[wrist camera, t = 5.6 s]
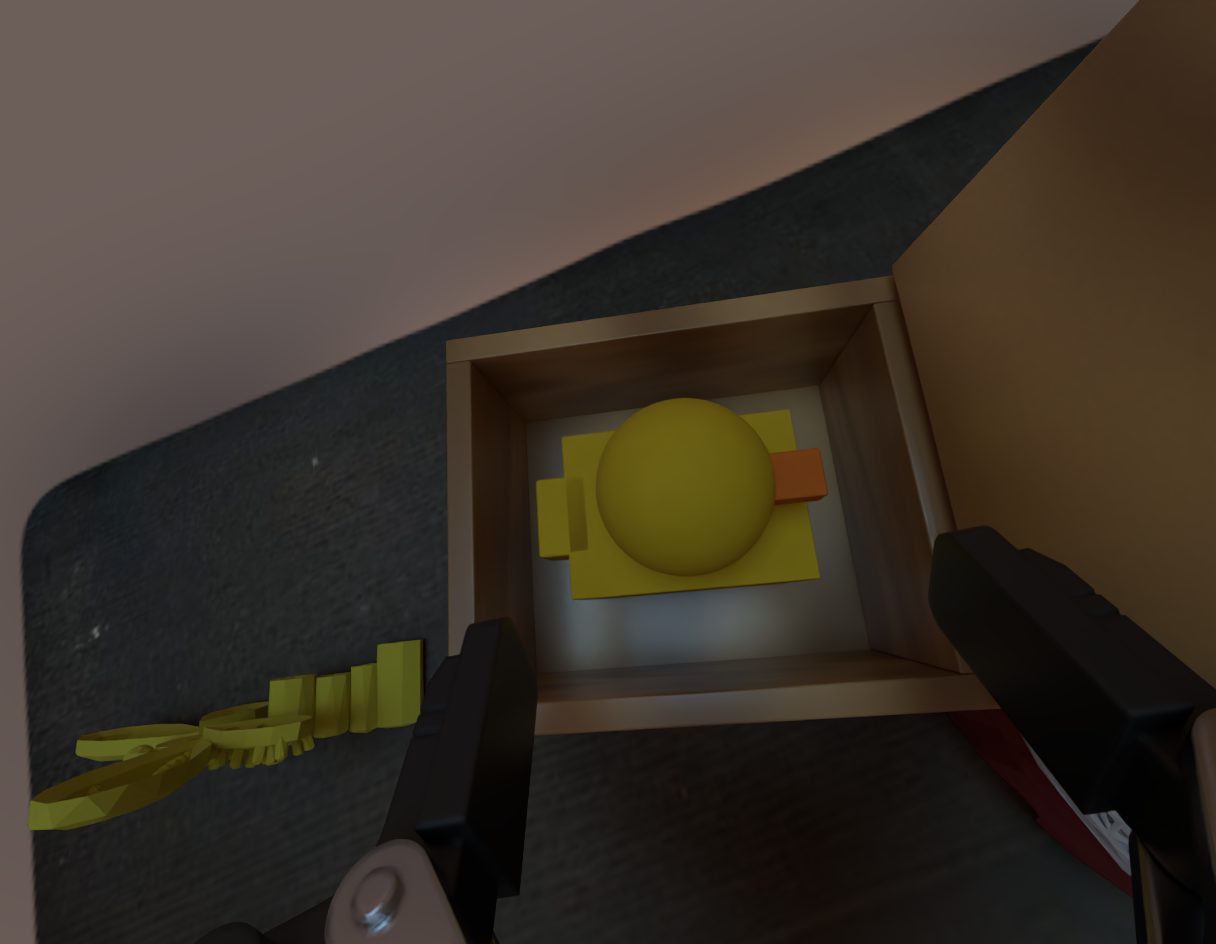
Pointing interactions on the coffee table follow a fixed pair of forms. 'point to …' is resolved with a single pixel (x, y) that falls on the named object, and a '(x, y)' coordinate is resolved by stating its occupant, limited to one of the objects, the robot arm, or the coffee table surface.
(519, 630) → the chest
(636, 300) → the coffee table surface
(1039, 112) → the lid
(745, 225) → the coffee table surface
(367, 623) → the coffee table surface
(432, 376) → the coffee table surface
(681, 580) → the duck
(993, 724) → the sunglasses
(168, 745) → the decorative insect
